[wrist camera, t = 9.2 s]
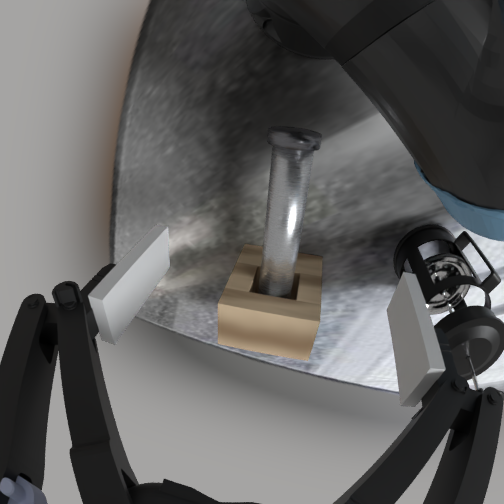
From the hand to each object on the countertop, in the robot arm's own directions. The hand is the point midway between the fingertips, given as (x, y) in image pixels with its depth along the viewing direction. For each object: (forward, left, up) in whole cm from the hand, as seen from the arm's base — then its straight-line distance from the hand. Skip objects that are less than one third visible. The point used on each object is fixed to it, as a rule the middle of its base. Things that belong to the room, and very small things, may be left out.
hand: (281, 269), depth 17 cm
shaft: (+5, -1, -16) cm, 17 cm away
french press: (+8, +18, -21) cm, 28 cm away
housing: (+14, -1, -20) cm, 25 cm away
